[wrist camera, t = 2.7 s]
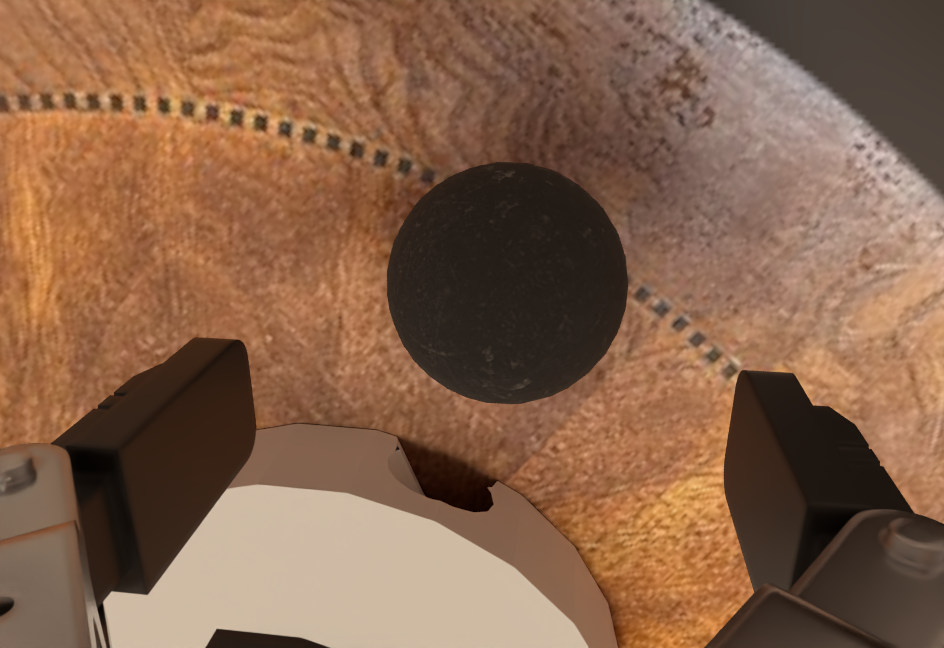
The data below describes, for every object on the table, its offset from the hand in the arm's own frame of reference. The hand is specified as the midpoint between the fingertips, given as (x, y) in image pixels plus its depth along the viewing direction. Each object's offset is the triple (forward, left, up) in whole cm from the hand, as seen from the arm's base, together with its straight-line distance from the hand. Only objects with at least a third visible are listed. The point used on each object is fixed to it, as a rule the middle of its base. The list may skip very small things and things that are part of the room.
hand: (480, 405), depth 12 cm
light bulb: (0, 0, -13) cm, 13 cm away
